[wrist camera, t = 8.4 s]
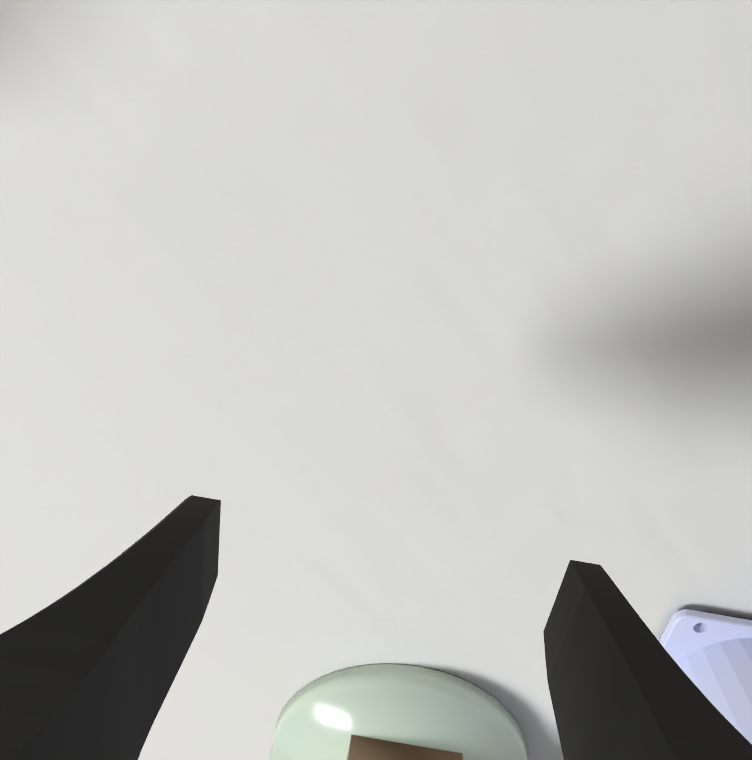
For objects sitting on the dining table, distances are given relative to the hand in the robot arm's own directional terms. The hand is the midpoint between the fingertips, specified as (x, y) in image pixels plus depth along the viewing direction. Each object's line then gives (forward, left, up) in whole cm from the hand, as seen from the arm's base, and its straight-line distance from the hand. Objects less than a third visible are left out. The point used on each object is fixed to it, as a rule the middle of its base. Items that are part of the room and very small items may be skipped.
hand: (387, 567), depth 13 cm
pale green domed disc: (-3, +20, -9) cm, 22 cm away
